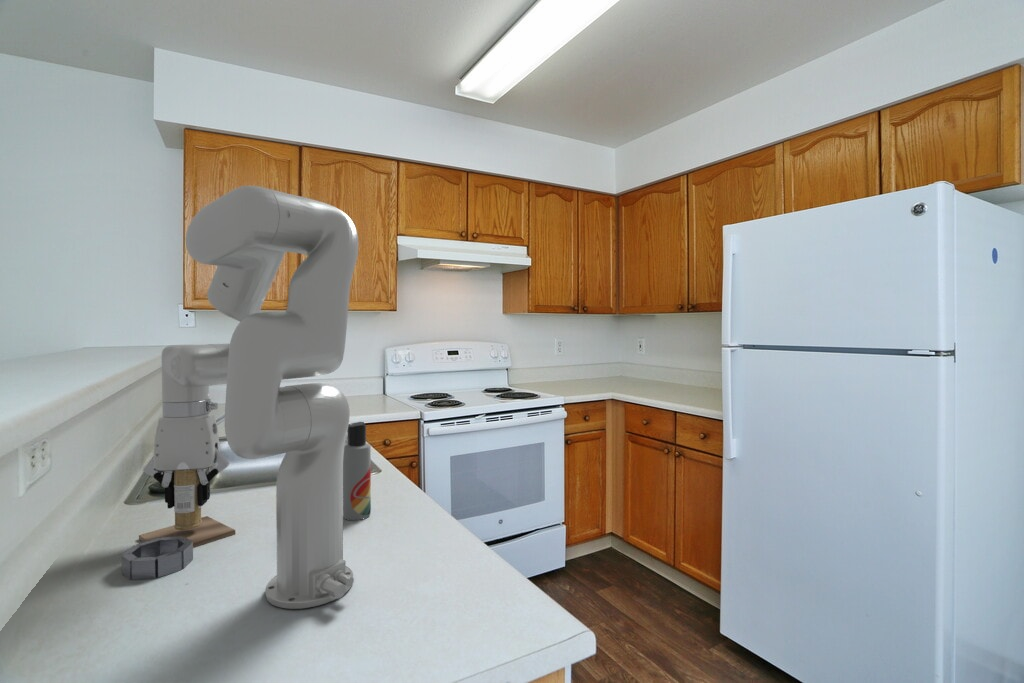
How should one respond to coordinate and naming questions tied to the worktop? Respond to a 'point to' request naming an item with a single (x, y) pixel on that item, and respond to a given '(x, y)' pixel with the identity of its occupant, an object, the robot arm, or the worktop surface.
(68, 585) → the worktop surface
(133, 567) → the grey segmented ring
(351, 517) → the lotion bottle
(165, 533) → the walnut board
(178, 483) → the sprinkles bottle
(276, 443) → the robot arm
